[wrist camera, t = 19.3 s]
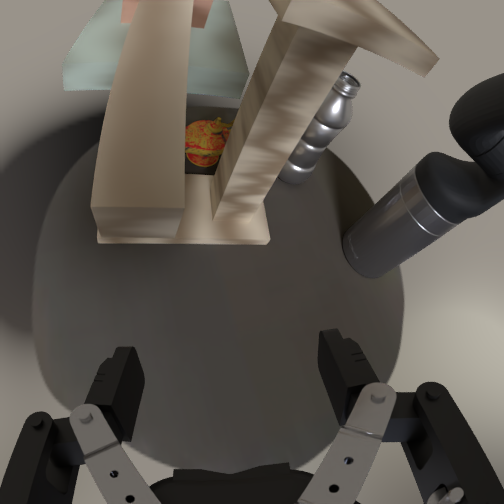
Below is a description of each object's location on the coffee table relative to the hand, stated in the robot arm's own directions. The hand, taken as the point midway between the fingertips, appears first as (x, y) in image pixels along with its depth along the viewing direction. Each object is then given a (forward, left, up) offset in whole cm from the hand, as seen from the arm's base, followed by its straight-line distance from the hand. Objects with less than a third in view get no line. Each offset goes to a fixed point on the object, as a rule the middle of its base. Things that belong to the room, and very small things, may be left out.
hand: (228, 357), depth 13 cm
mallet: (+4, -16, +3) cm, 16 cm away
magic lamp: (-4, -31, -23) cm, 39 cm away
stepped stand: (-2, -22, -22) cm, 31 cm away
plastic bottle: (-19, -30, -23) cm, 42 cm away
